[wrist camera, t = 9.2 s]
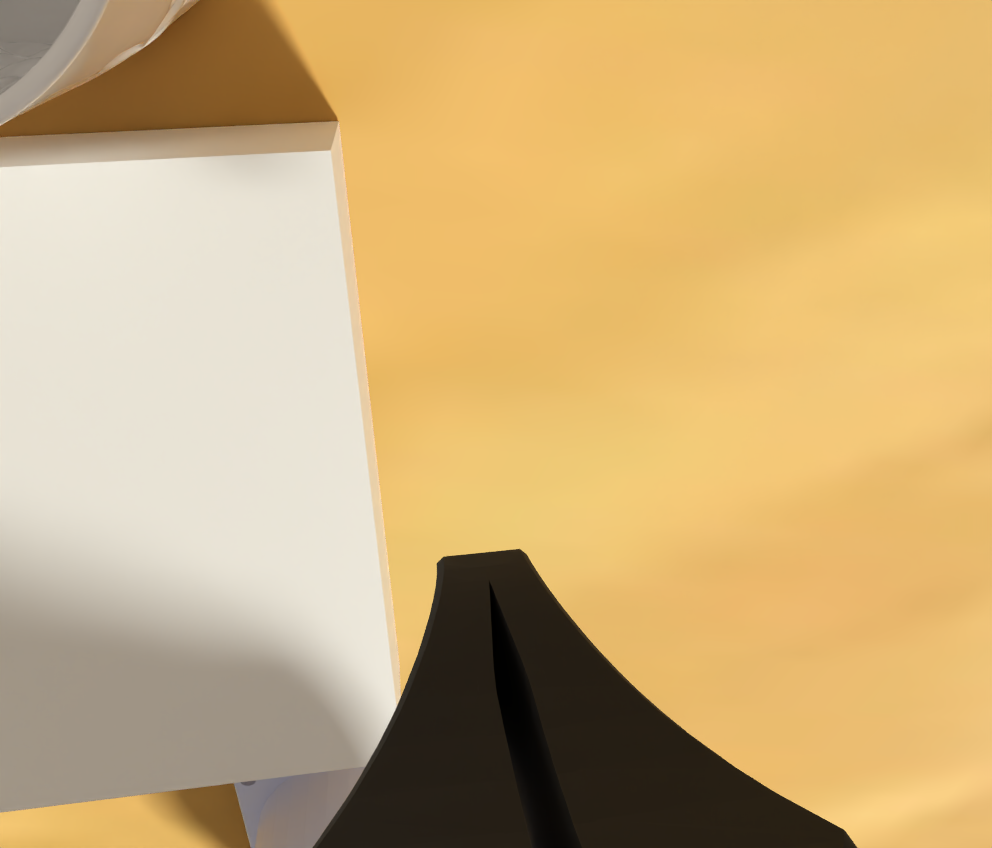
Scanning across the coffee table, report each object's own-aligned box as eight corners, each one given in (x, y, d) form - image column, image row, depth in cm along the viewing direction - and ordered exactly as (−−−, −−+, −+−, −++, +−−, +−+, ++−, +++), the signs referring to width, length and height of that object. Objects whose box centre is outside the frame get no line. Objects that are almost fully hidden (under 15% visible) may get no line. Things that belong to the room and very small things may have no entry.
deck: (399, 662, 27) (403, 761, 24) (19, 705, 26) (-36, 817, 23) (338, 121, 19) (330, 150, 16) (-214, 147, 18) (-357, 185, 15)
